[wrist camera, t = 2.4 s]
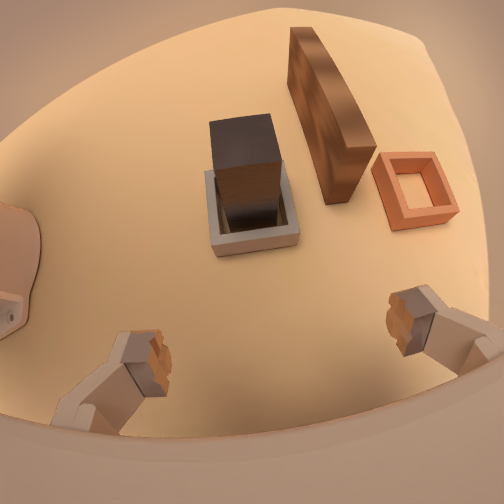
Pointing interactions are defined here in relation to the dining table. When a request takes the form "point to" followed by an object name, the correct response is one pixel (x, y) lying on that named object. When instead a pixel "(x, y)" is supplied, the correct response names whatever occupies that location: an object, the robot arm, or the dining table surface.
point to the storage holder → (252, 238)
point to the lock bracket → (393, 195)
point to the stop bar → (247, 170)
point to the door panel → (328, 116)
